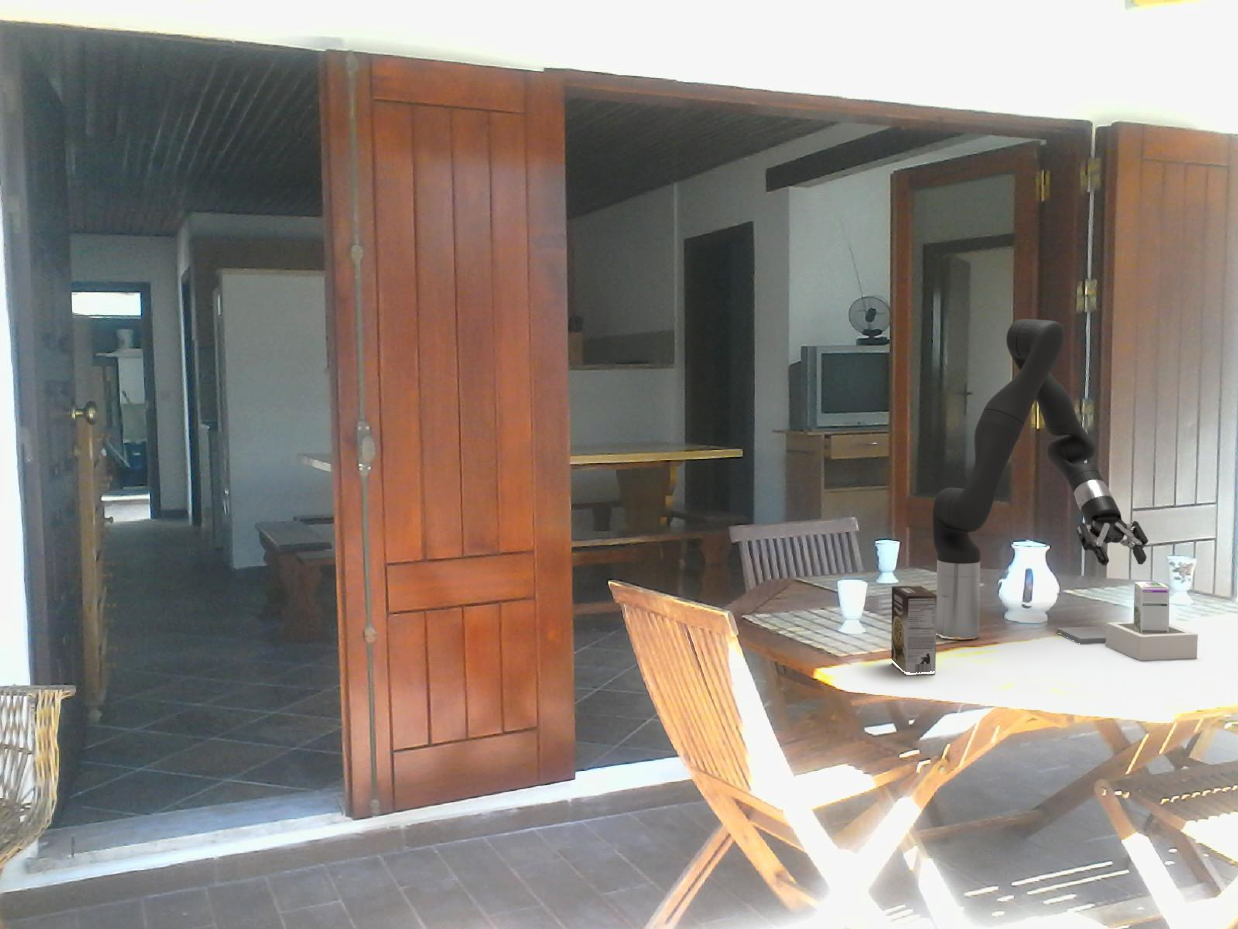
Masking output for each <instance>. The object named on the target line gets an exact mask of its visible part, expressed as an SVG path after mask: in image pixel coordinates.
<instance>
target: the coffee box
mask: <svg viewBox="0 0 1238 929" xmlns="http://www.w3.org/2000/svg"><path fill="white" fill-rule="evenodd" d="M933 593H934V592H932V591H930V590H928V589H927V588H924V587H923V586H922V585H920V586H919V585H916V586H912V585H895V586H894V585H893V586H891V639H890V640H891V645H890V646H891V649H890V650H891V651H890V652H891V653H890V654H891V655H890V657H891V659H892V660H893V661H894V662H895V663H896V664H897V665H898V666H899V667H900V668H901V669H902V670H903V671H905V672H910V673H916V672H917V673H919V672H920V673H921V672H930V671H932V672H933V671H935V672H936V656H937V653H936V652H937V635H936V624H937V595H935V594H933ZM891 659H890V660H891Z"/></svg>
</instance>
